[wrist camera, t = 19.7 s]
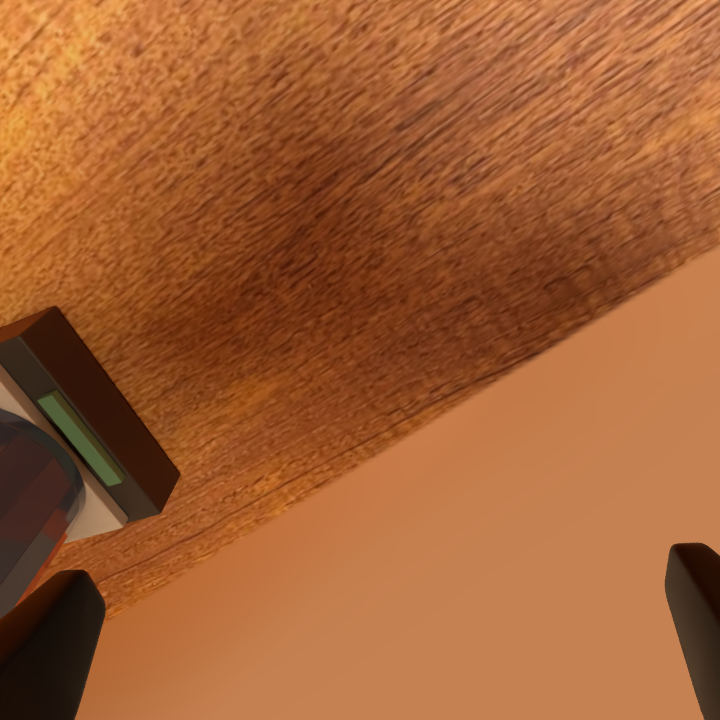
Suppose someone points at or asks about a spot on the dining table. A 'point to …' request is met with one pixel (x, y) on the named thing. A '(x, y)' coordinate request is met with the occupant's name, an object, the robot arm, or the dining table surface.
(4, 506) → the cup
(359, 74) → the dining table surface
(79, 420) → the scale
